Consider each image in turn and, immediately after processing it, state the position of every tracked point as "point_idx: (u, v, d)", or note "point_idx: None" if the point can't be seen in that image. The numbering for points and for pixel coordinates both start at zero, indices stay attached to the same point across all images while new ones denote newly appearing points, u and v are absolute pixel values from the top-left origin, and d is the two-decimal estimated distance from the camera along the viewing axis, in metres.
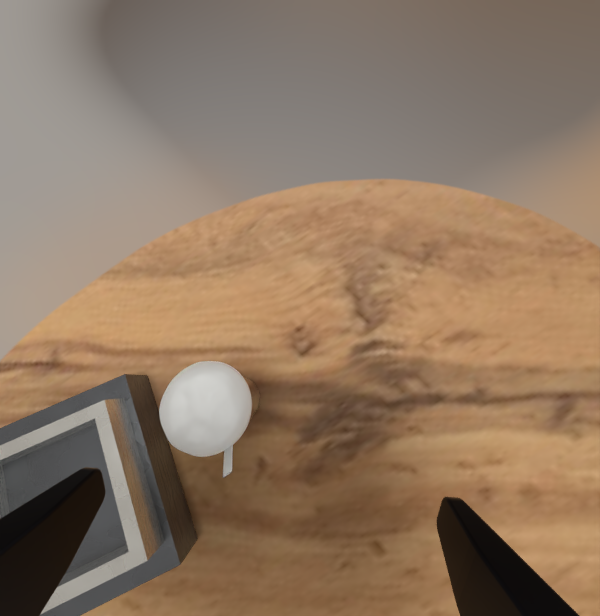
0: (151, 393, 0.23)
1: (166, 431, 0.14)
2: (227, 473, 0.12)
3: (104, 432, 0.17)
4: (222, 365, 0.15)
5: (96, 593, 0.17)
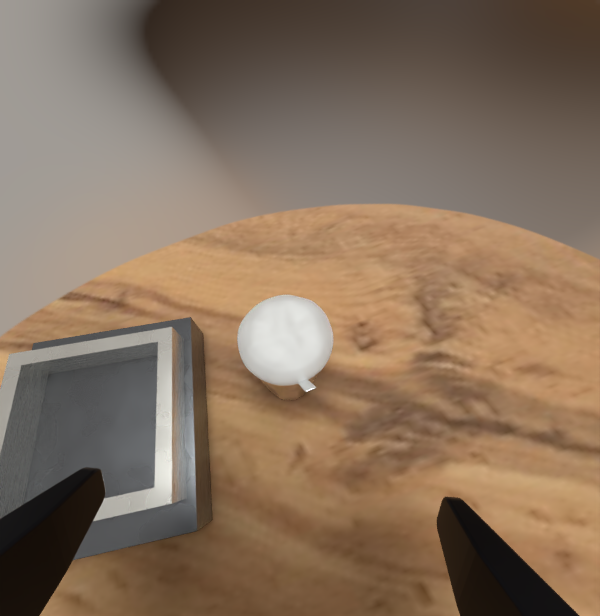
0: (203, 350, 0.22)
1: (244, 345, 0.13)
2: (311, 388, 0.11)
3: (163, 357, 0.17)
4: (310, 300, 0.15)
5: (96, 539, 0.15)
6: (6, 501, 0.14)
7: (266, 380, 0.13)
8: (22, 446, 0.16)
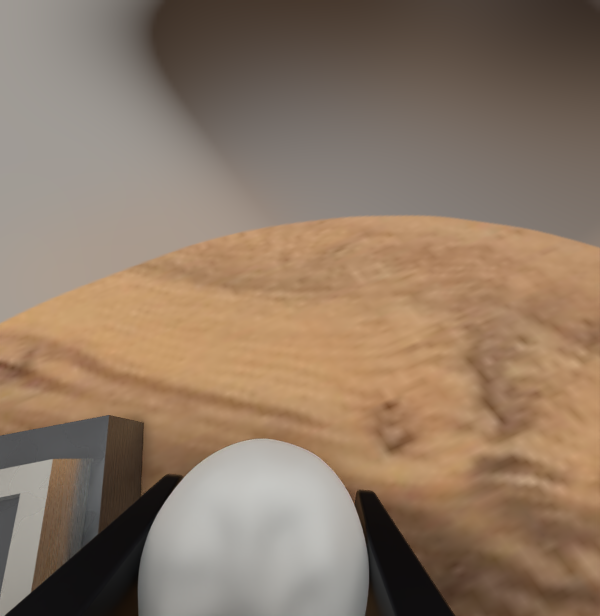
0: (139, 455, 0.14)
1: None
2: None
3: (24, 530, 0.09)
4: (316, 462, 0.06)
5: None
6: None
7: None
8: None
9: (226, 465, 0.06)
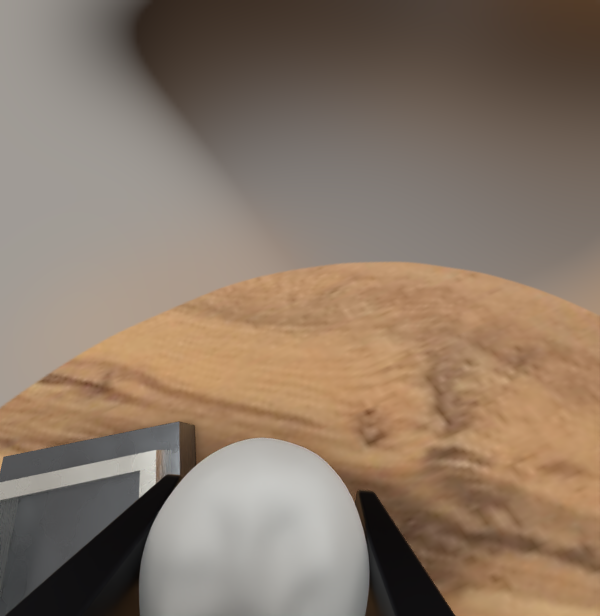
0: (194, 448, 0.20)
1: None
2: None
3: (145, 491, 0.15)
4: (316, 461, 0.06)
5: None
6: None
7: None
8: None
9: (227, 464, 0.06)
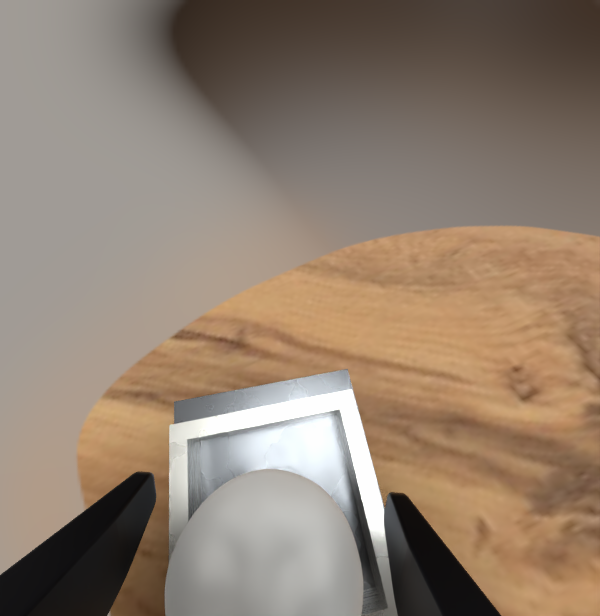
0: None
1: None
2: None
3: (352, 428, 0.14)
4: (317, 493, 0.07)
5: None
6: None
7: None
8: None
9: (238, 498, 0.07)
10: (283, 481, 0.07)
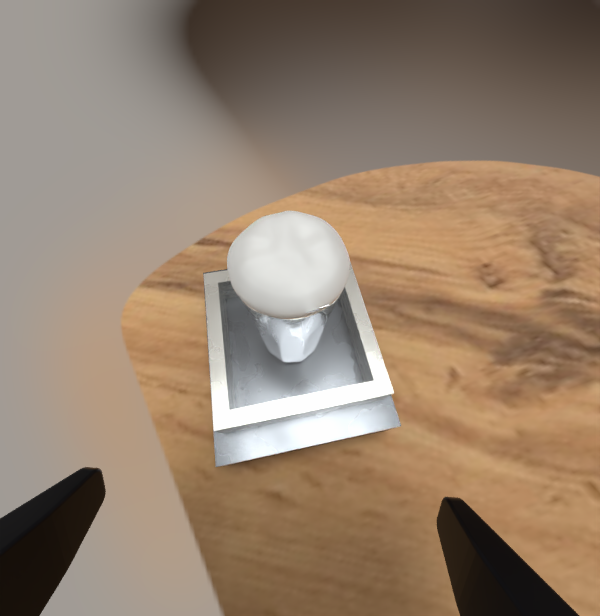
0: None
1: (236, 266, 0.10)
2: (325, 305, 0.08)
3: None
4: (320, 218, 0.12)
5: (310, 432, 0.16)
6: (231, 396, 0.16)
7: (264, 310, 0.10)
8: (228, 354, 0.17)
9: (271, 215, 0.11)
10: None
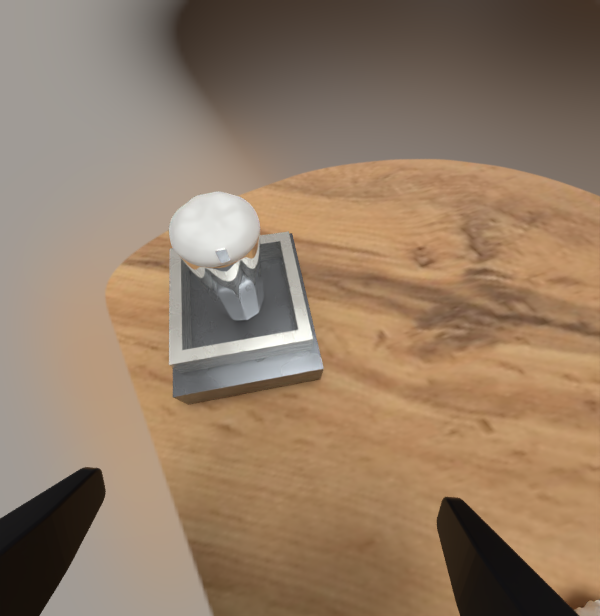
0: None
1: (172, 229, 0.14)
2: (220, 249, 0.12)
3: (286, 250, 0.22)
4: None
5: (250, 373, 0.20)
6: (186, 343, 0.20)
7: (191, 260, 0.14)
8: (187, 312, 0.21)
9: (203, 194, 0.15)
10: None
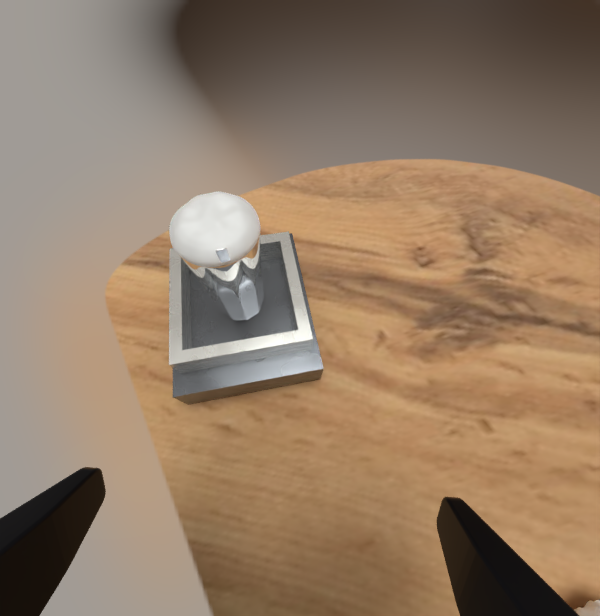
0: None
1: (173, 229, 0.14)
2: (221, 248, 0.12)
3: (286, 250, 0.22)
4: None
5: (250, 373, 0.20)
6: (186, 343, 0.20)
7: (192, 260, 0.14)
8: (187, 312, 0.21)
9: (203, 194, 0.15)
10: None
